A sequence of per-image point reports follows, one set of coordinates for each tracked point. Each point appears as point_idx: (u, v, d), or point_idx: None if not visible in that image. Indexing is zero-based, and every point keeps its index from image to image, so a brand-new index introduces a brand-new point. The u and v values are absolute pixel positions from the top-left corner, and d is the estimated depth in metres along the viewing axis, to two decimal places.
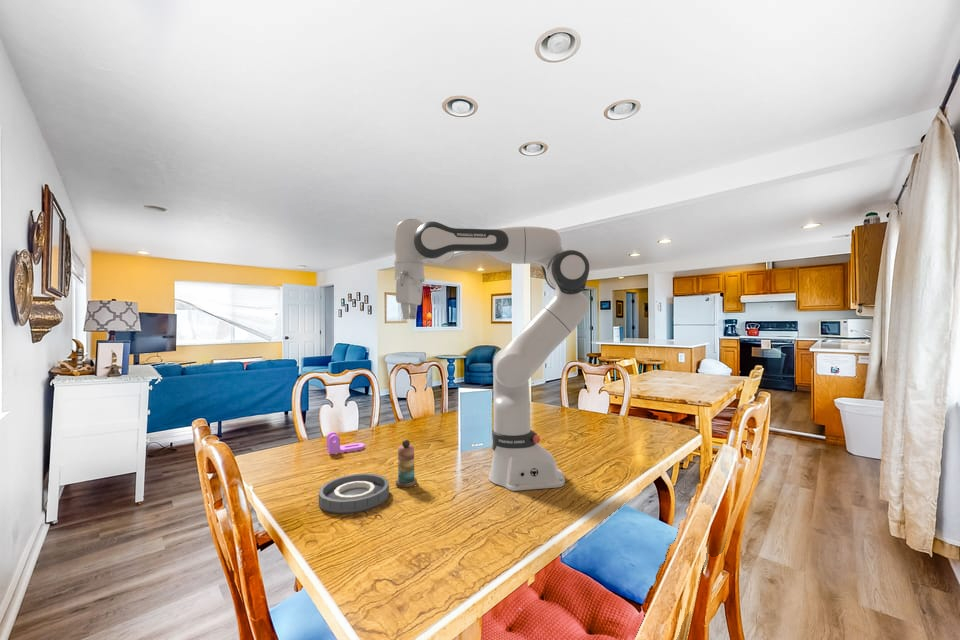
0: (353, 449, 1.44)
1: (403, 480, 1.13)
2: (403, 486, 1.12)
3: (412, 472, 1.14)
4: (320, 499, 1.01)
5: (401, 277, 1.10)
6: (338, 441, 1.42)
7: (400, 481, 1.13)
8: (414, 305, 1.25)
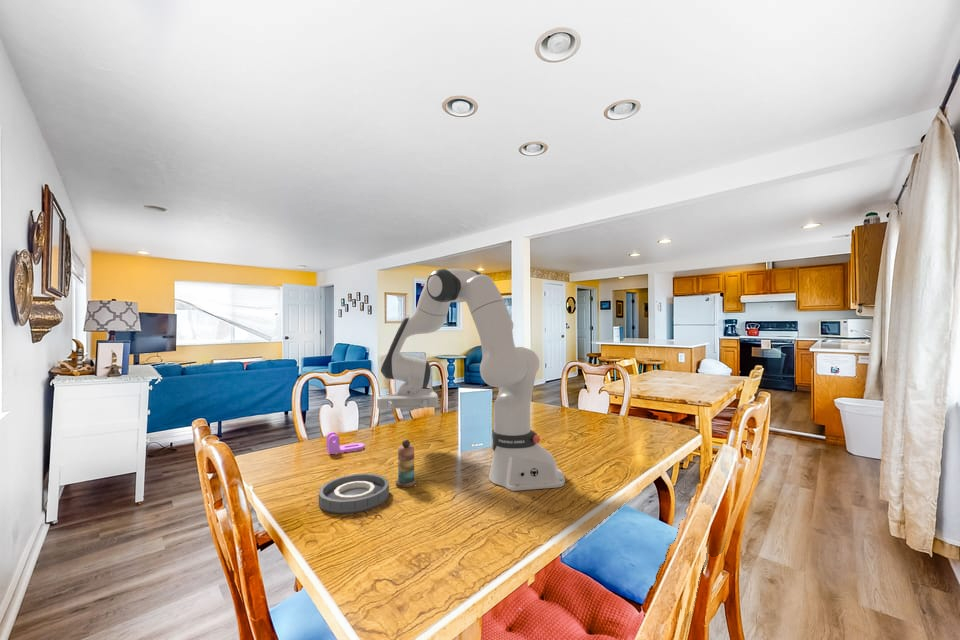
0: (353, 449, 1.44)
1: (403, 480, 1.13)
2: (403, 486, 1.12)
3: (412, 472, 1.14)
4: (320, 499, 1.01)
5: None
6: (338, 441, 1.42)
7: (400, 481, 1.13)
8: (423, 401, 1.32)
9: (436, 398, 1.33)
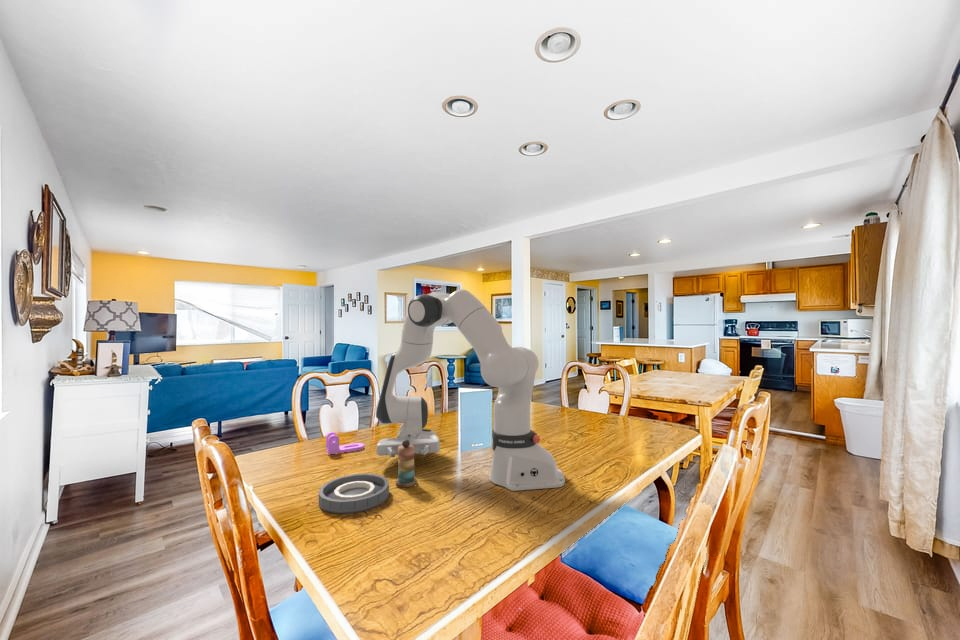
0: (352, 449, 1.44)
1: (403, 480, 1.13)
2: (403, 486, 1.12)
3: (412, 472, 1.14)
4: (320, 499, 1.01)
5: None
6: (337, 441, 1.42)
7: (400, 481, 1.13)
8: (424, 446, 1.27)
9: (437, 443, 1.28)
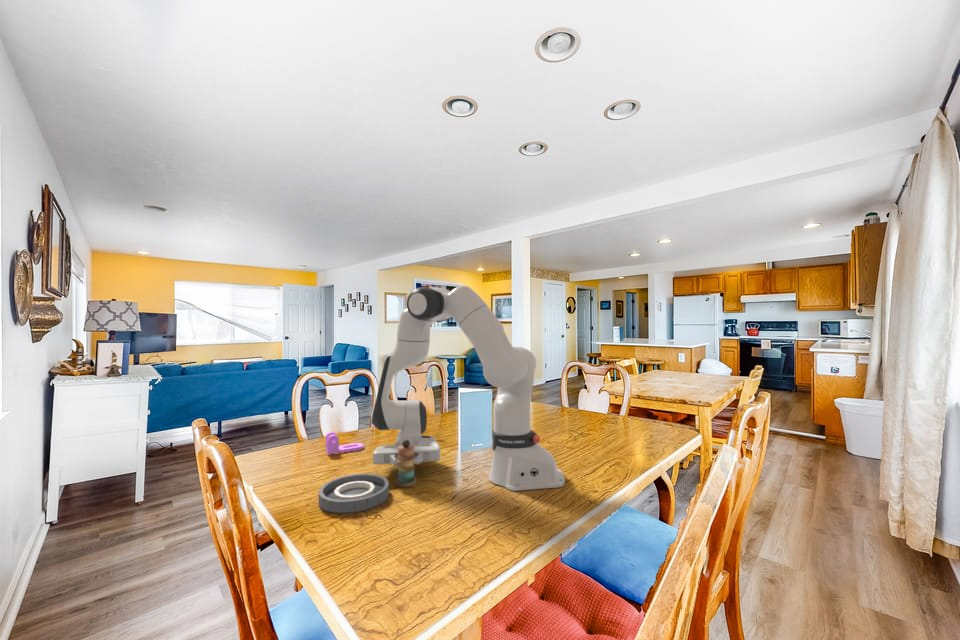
0: (352, 449, 1.44)
1: (403, 480, 1.13)
2: (403, 485, 1.12)
3: (412, 472, 1.14)
4: (320, 499, 1.01)
5: None
6: (337, 441, 1.42)
7: (400, 481, 1.13)
8: (418, 455, 1.19)
9: (438, 451, 1.20)
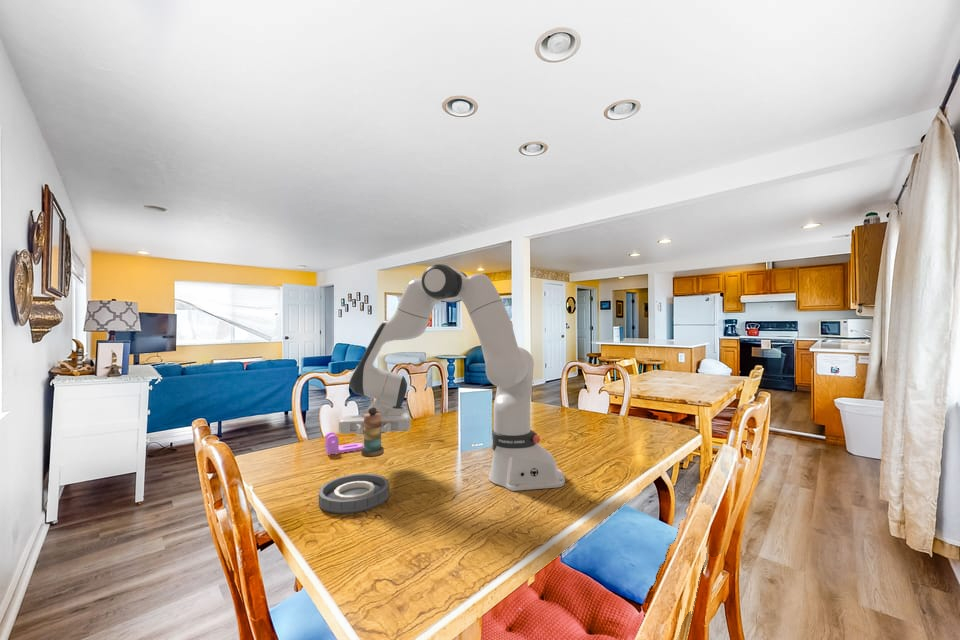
0: (352, 449, 1.44)
1: (368, 448, 1.07)
2: (368, 454, 1.07)
3: (378, 441, 1.08)
4: (320, 499, 1.01)
5: None
6: (337, 441, 1.42)
7: (365, 450, 1.08)
8: (386, 424, 1.14)
9: (407, 420, 1.15)
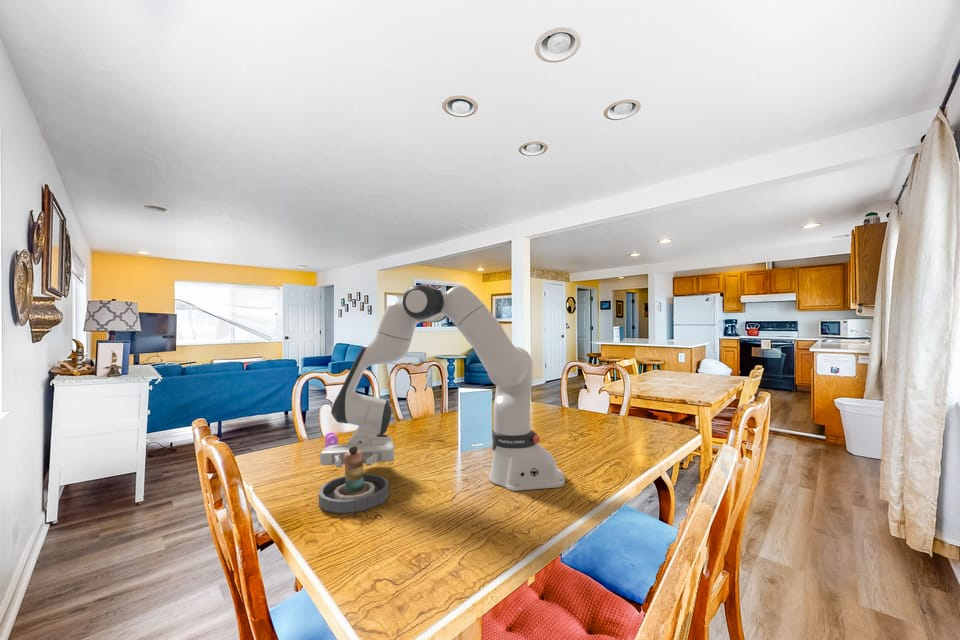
0: None
1: (350, 489, 1.04)
2: None
3: (360, 481, 1.05)
4: (320, 499, 1.01)
5: None
6: (336, 441, 1.42)
7: (347, 491, 1.04)
8: None
9: (391, 451, 1.12)
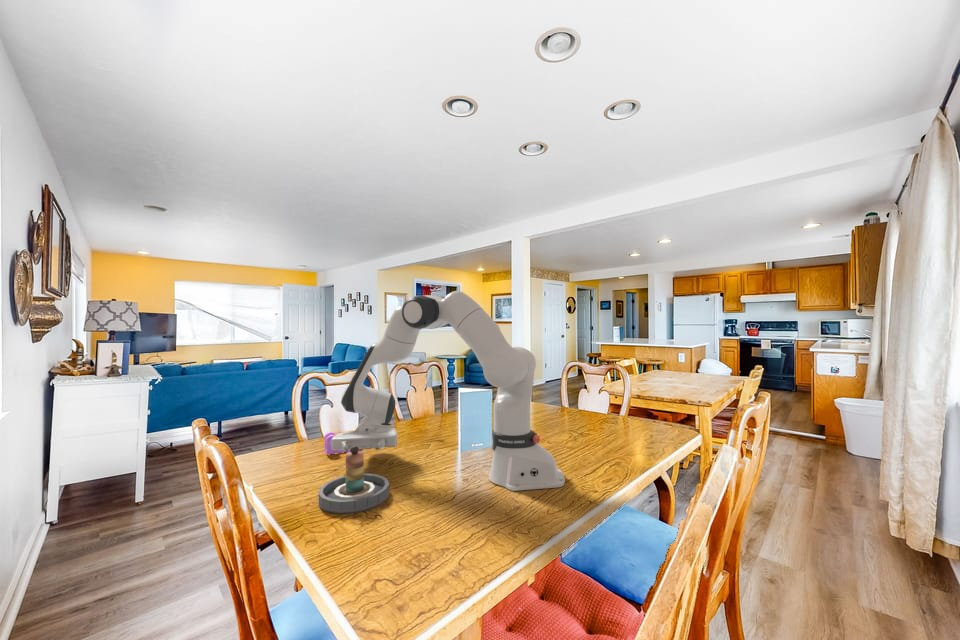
0: None
1: (350, 489, 1.04)
2: None
3: (360, 481, 1.05)
4: (320, 499, 1.01)
5: None
6: None
7: (347, 491, 1.05)
8: (380, 441, 1.23)
9: (395, 437, 1.24)
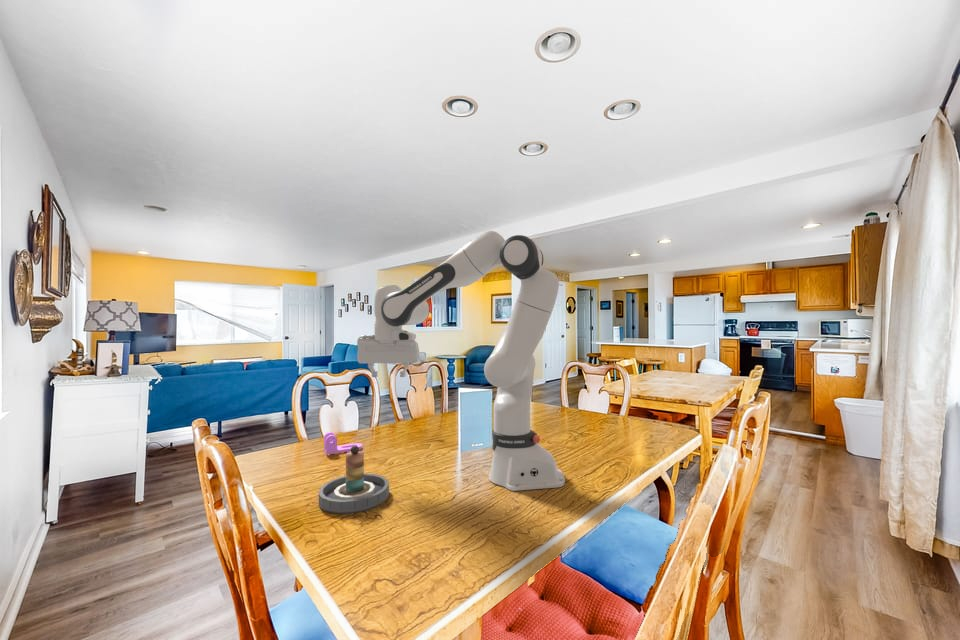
0: (350, 449, 1.44)
1: (350, 489, 1.04)
2: None
3: (360, 481, 1.05)
4: (320, 499, 1.01)
5: None
6: (335, 441, 1.41)
7: (347, 490, 1.05)
8: None
9: (416, 362, 1.29)
